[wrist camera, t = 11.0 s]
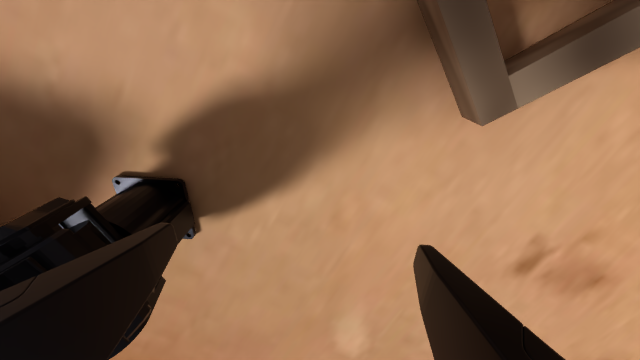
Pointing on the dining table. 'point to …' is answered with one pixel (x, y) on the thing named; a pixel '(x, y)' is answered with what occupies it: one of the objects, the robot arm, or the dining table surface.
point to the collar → (521, 54)
